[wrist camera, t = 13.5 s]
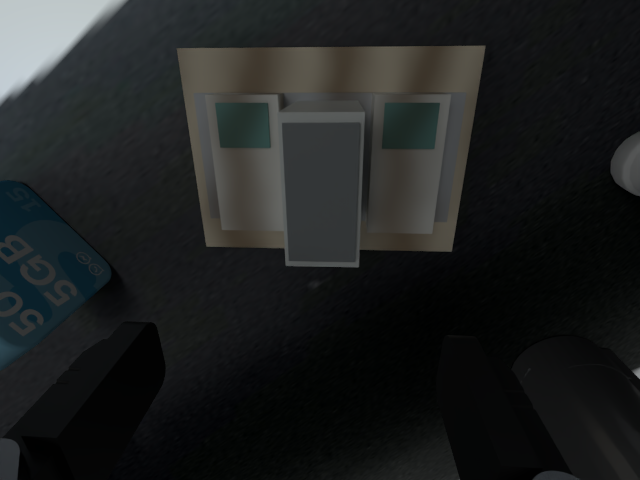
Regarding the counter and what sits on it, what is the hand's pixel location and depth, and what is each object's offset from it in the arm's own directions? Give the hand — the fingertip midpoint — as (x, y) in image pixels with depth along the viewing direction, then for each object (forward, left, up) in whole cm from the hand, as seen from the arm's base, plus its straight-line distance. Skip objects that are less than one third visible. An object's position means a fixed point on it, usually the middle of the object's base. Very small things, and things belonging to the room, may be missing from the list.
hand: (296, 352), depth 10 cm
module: (0, -1, -21) cm, 21 cm away
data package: (+26, +7, -23) cm, 35 cm away
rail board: (0, -1, -22) cm, 22 cm away
